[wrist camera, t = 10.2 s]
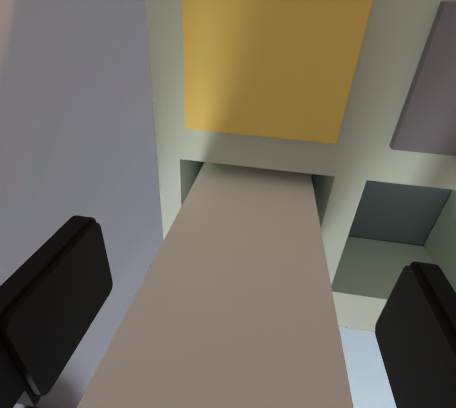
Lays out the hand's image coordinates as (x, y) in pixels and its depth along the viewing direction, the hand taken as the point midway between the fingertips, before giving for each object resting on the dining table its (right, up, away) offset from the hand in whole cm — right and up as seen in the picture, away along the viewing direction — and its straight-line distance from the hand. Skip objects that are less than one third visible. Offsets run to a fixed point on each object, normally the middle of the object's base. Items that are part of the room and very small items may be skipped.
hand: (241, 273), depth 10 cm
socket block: (+4, +4, +4) cm, 7 cm away
